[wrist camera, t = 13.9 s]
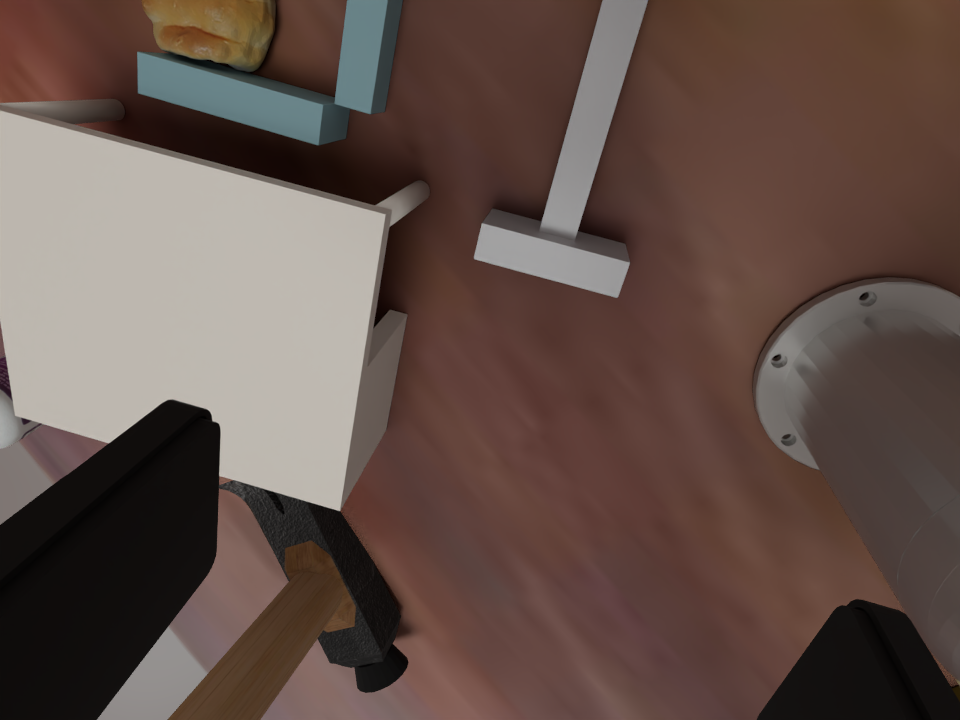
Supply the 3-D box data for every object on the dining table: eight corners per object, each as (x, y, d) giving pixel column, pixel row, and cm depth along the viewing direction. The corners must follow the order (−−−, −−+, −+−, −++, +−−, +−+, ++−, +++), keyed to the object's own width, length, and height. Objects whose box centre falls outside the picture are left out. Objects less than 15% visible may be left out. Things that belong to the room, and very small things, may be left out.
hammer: (263, 452, 48) (-246, 810, 20) (313, 434, 47) (-163, 795, 19) (367, 659, 51) (50, 1218, 23) (417, 648, 50) (142, 1236, 22)
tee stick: (759, -143, 26) (802, -199, 21) (614, 275, 35) (619, 310, 30) (584, -184, 27) (584, -249, 21) (484, 240, 36) (467, 269, 30)
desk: (431, 183, 35) (385, 214, 27) (386, 429, 43) (340, 511, 35) (105, 96, 36) (-34, 101, 28) (120, 353, 44) (15, 415, 36)
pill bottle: (31, 324, 44) (-105, 384, 35) (98, 353, 44) (-21, 419, 35) (29, 383, 46) (-98, 452, 38) (93, 410, 46) (-20, 485, 38)
